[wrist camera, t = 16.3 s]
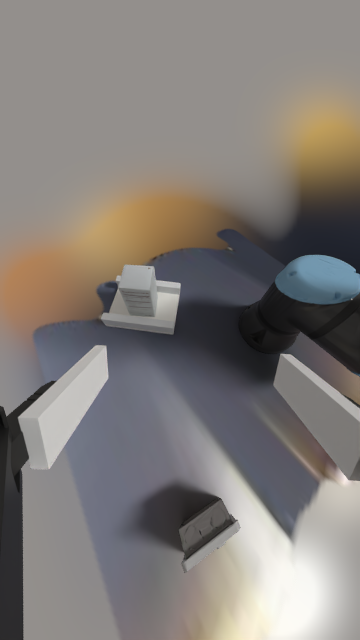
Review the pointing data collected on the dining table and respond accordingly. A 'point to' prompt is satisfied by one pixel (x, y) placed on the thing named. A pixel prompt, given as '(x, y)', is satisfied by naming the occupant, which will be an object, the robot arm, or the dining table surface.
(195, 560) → the electrical switch
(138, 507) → the dining table surface
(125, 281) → the supplement box
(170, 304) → the tray
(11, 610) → the robot arm
